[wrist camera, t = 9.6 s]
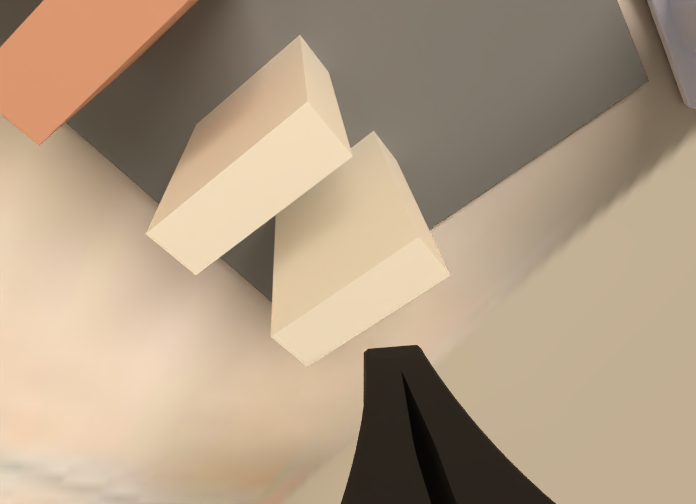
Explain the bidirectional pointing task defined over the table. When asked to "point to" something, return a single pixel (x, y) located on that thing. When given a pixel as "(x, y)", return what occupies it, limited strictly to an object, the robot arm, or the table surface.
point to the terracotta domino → (75, 56)
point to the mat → (374, 87)
